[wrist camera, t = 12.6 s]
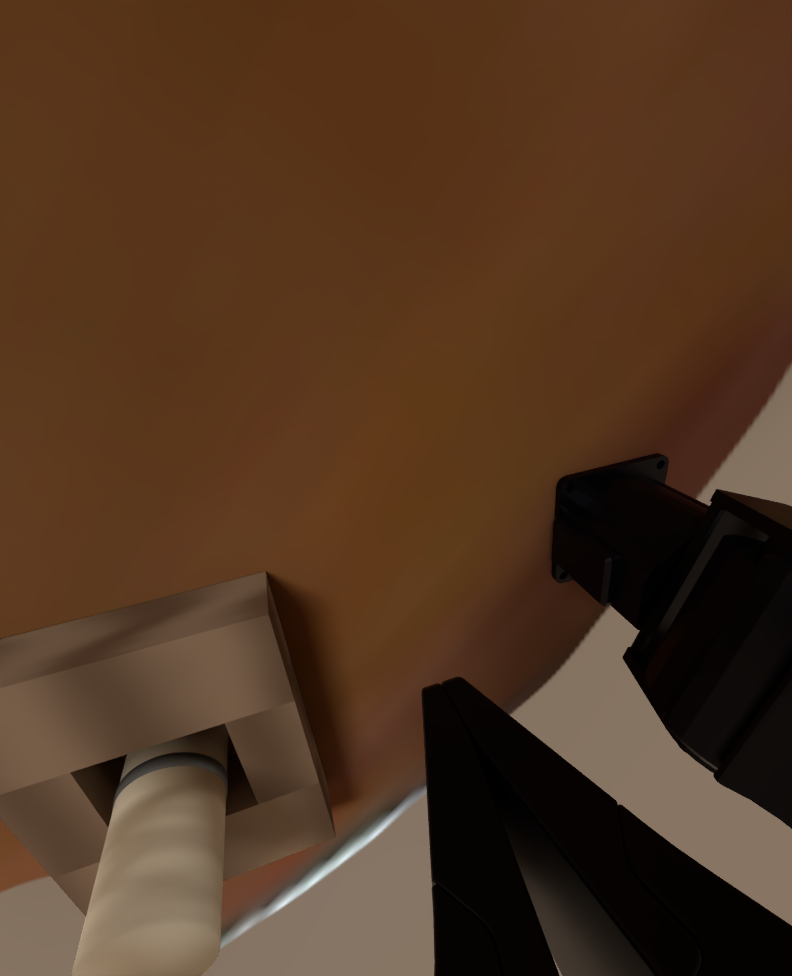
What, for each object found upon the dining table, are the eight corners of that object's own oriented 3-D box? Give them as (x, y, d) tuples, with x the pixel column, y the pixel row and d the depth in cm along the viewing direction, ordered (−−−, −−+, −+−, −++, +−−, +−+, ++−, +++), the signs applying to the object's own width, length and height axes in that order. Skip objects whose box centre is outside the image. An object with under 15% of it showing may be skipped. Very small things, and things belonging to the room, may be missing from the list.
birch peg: (216, 684, 22) (199, 905, 14) (239, 743, 24) (236, 964, 16) (116, 714, 21) (41, 967, 14) (150, 773, 23) (100, 1023, 16)
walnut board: (265, 571, 20) (268, 614, 18) (327, 784, 28) (335, 837, 25) (-43, 650, 18) (-92, 713, 15) (113, 862, 25) (97, 929, 22)
